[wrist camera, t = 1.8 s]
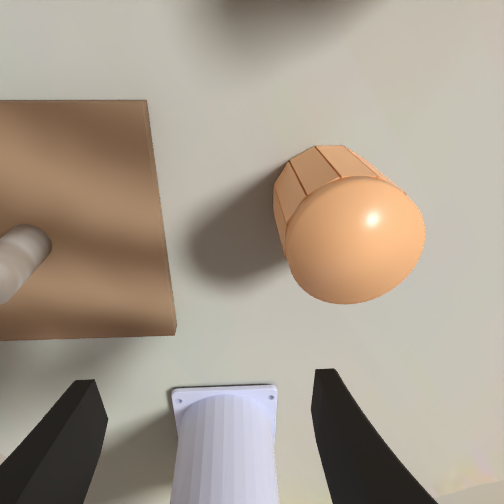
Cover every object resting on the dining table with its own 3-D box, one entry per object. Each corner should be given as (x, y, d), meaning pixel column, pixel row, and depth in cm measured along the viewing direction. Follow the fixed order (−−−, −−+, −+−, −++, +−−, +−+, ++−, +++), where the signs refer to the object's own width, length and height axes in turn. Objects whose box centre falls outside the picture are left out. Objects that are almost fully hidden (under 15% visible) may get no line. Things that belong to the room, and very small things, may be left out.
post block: (176, 325, 24) (164, 386, 19) (-39, 331, 23) (-102, 396, 19) (146, 99, 17) (116, 117, 12) (-164, 100, 16) (-310, 119, 12)
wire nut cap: (364, 240, 21) (407, 302, 16) (271, 242, 21) (284, 305, 16) (382, 145, 18) (441, 183, 13) (274, 146, 18) (292, 185, 13)
